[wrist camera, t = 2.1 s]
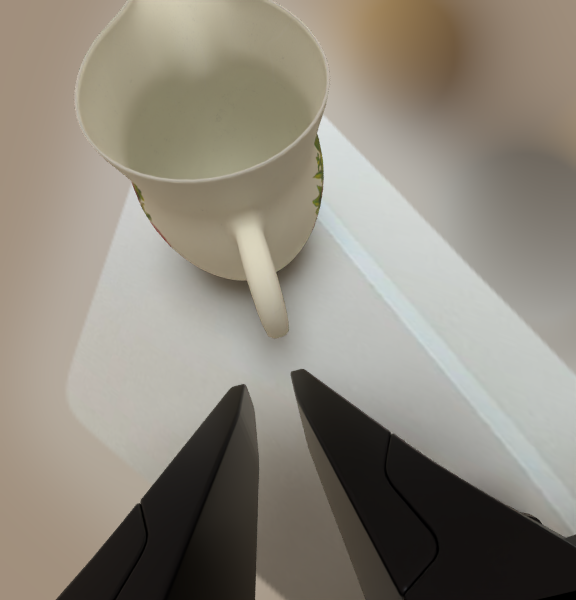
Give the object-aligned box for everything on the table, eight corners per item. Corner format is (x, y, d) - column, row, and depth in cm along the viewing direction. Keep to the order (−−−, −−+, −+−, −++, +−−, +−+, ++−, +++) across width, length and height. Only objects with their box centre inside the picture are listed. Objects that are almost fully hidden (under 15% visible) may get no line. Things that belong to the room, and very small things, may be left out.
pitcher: (214, 373, 20) (66, 354, 7) (174, 184, 25) (46, -28, 12) (352, 330, 21) (448, 241, 8) (285, 155, 26) (276, -74, 13)
